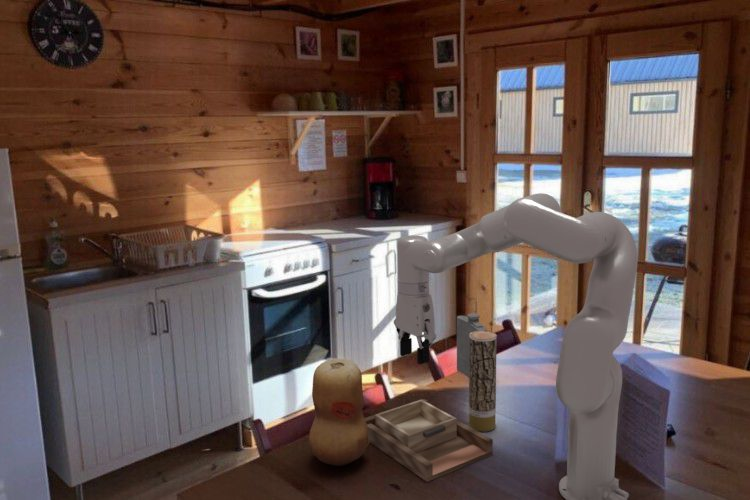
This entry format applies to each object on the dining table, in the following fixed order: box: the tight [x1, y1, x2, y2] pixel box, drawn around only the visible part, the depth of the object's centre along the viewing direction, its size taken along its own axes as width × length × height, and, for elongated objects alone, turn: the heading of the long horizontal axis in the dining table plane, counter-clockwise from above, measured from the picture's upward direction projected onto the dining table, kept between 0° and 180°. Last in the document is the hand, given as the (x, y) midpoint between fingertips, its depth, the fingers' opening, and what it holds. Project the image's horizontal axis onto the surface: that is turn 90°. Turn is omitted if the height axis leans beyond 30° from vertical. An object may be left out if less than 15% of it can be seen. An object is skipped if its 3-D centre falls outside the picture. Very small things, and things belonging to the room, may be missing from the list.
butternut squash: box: [308, 357, 370, 467], centre depth 153 cm, size 14×13×25 cm
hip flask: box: [456, 313, 488, 378], centre depth 202 cm, size 16×4×20 cm, turn 20°
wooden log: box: [468, 330, 498, 433], centre depth 168 cm, size 7×7×25 cm
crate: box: [374, 399, 458, 452], centre depth 164 cm, size 15×15×5 cm
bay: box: [364, 398, 494, 483], centre depth 161 cm, size 26×20×5 cm
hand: (414, 358), depth 161 cm, fingers open, 6 cm apart
